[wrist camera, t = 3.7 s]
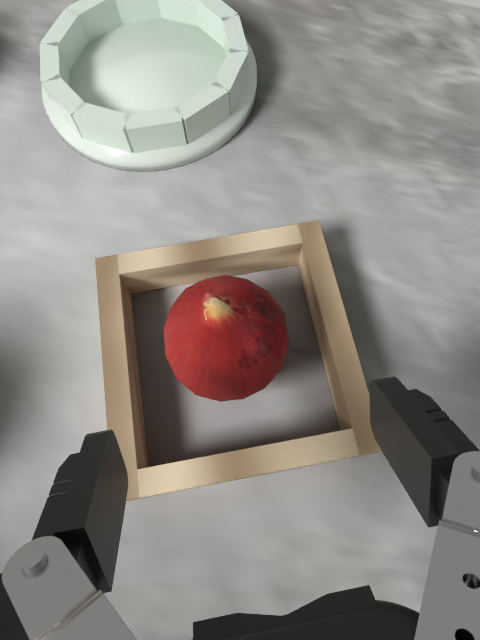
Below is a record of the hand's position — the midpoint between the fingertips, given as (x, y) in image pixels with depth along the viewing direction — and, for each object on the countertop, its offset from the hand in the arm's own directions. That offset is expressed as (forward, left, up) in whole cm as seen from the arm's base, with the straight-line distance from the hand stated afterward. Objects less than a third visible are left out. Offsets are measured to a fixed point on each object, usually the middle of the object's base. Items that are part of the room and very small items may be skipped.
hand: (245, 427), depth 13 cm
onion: (0, -5, -10) cm, 11 cm away
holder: (0, -5, -9) cm, 11 cm away
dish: (+2, -26, -9) cm, 28 cm away
